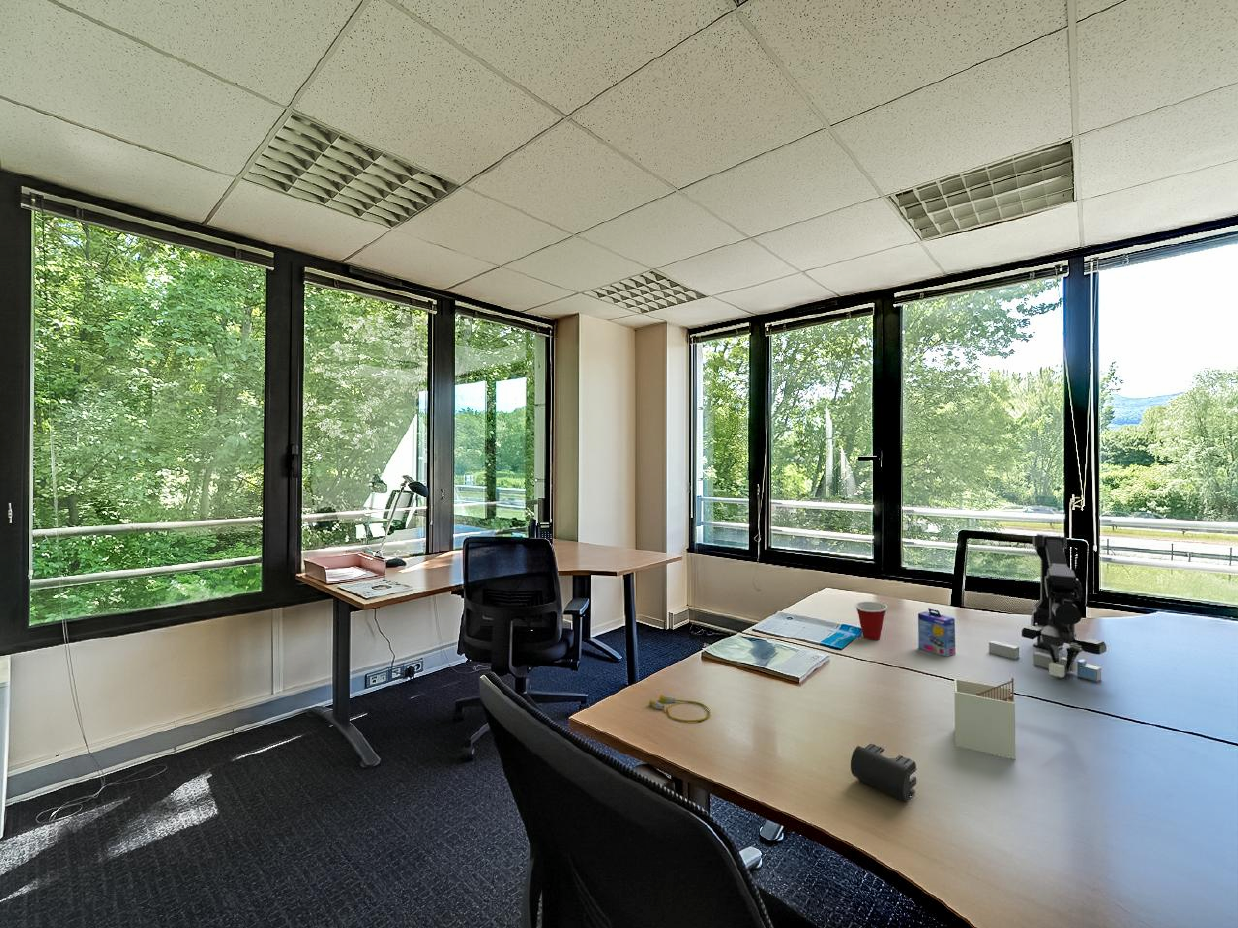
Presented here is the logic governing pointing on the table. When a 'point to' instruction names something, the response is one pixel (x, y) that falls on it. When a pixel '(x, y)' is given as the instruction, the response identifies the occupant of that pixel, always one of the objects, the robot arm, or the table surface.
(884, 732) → the table surface
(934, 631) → the ink cartridge box
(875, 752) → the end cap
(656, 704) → the extension cord
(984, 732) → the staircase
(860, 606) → the plastic cup
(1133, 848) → the table surface
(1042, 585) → the robot arm
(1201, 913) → the table surface
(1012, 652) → the grey block row
